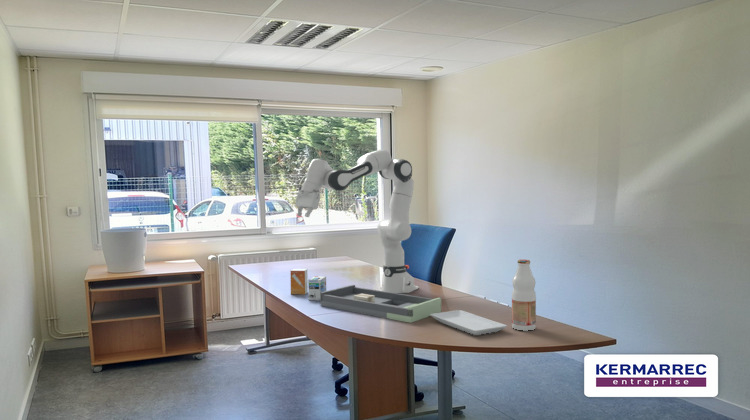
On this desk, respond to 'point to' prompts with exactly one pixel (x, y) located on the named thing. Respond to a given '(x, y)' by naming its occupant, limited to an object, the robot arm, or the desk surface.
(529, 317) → the fruit juice
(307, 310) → the desk surface
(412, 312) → the tray
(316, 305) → the desk surface
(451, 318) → the tray
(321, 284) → the light bulb box
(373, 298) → the block
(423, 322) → the desk surface
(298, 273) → the small box
